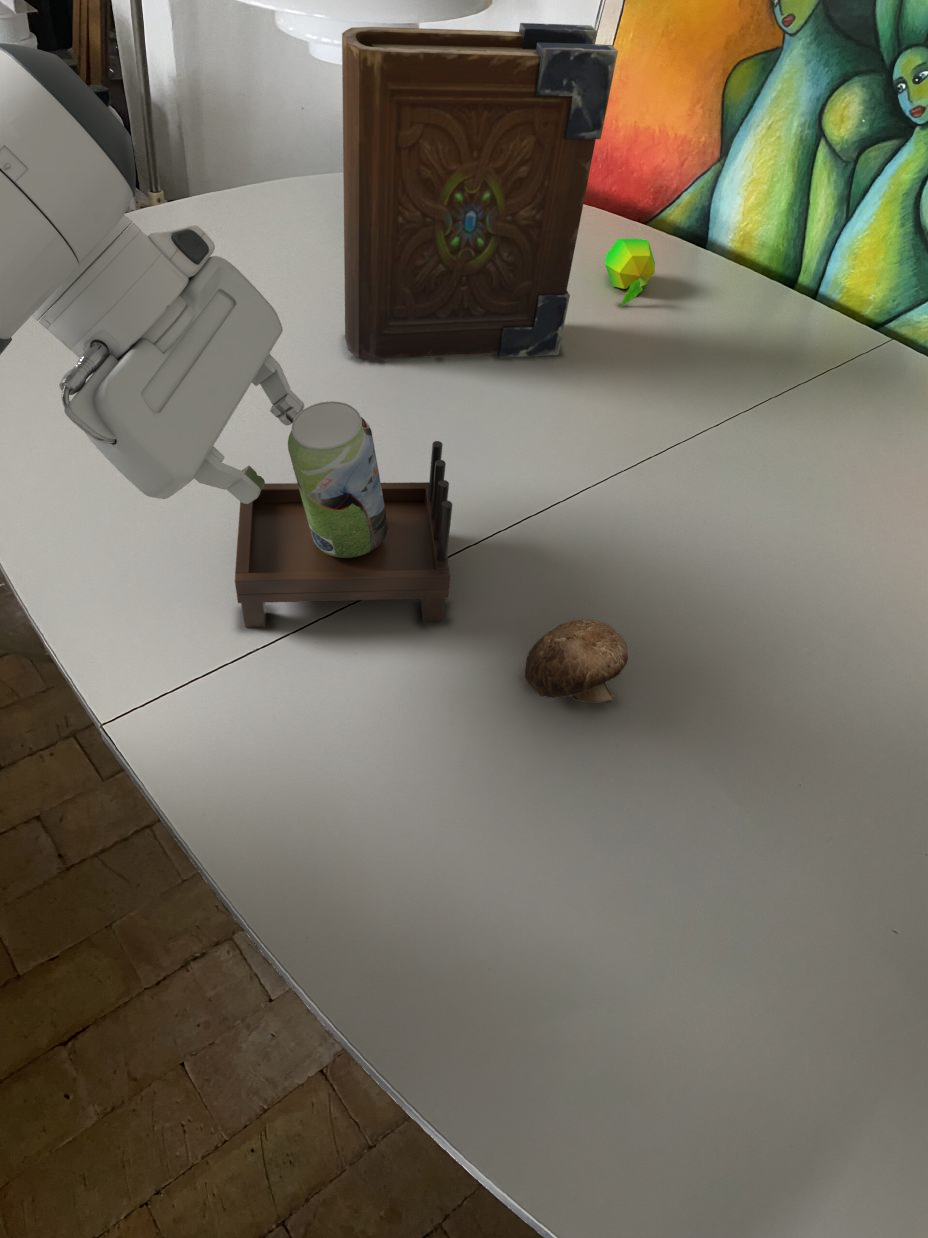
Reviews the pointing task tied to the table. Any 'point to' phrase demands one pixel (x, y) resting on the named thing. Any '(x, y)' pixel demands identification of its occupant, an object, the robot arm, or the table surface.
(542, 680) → the mushroom
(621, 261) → the apple
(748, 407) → the table surface
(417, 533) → the tray
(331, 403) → the beverage can
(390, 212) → the decorative book
